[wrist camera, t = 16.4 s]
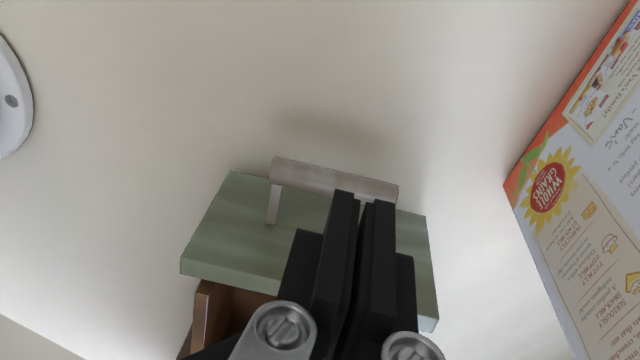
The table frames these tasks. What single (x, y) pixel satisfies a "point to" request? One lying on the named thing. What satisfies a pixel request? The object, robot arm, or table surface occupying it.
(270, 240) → the drawer
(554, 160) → the cracker box
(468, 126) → the table surface
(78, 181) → the table surface
